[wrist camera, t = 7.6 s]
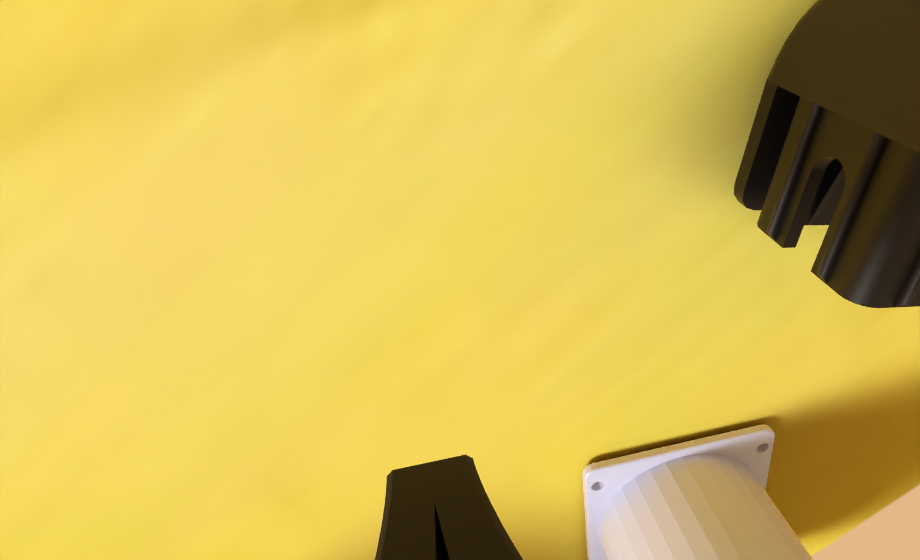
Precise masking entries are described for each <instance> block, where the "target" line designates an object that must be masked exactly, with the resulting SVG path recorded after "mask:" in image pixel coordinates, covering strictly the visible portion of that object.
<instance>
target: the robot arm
mask: <svg viewBox="0 0 920 560" xmlns="http://www.w3.org/2000/svg"><path fill="white" fill-rule="evenodd" d="M774 439H775V433H774V431H773V430H772V429H771V428H770V427H769V425H765V424H763V425H757V426H752V427H748V428H744V429H739V430H735V431H731V432H726V433H722V434H717V435H713V436H709V437H704V438H700V439H696V440H691V441H687V442H683V443H678V444H674V445H669V446H665V447H661V448H656V449H652V450H648V451H643V452H639V453H635V454H630V455H626V456H621V457H617V458H613V459H608V460H604V461H600V462H595V463H592V464H589V465H588V466H587V467H586V468H585V469H584V470H583V474H582V475H583V491H584V508H585V525H586V541H587V558H588V560H813V559H812V557H811V556H810V554H809V553H808V551H807V550H806V549H805V547H804V546H803V544H802V543H801V541H800V540H799V538H798V537H797V536H796V534H795V533H794V531H793V530H792V528H791V527H790V526H789V524H788V523H787V521H786V520H785V518H784V517H783V515H782V514H781V513H780V511H779V510H778V508H777V507H776V505H775V504H774V503H773V501H772V500H771V498H770V497H769V495H768V494H767V492H766V491H765V490H766V484H767V478H768V473H769V467H770V461H771V456H772V450H773V444H774ZM375 560H523V559H522V557H521V556H520V554H519V552H518V551H517V549H516V548H515V546H514V544H513V543H512V541H511V539H510V538H509V536H508V534H507V532H506V531H505V529H504V527H503V525H502V523H501V522H500V520H499V518H498V516H497V514H496V512H495V510H494V508H493V506H492V504H491V502H490V500H489V498H488V496H487V494H486V492H485V490H484V487H483V485H482V483H481V480H480V478H479V475H478V473H477V470H476V467H475V464H474V461H473V458H471V457H469V456H467V455H462V456H457V457H453V458H448V459H443V460H438V461H434V462H429V463H424V464H420V465H415V466H410V467H405V468H401V469H396V470H392V471H391V473H390V474H389V475H388V476H387V486H386V498H385V507H384V514H383V520H382V526H381V532H380V537H379V542H378V548H377V553H376V557H375Z"/></svg>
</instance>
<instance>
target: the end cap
mask: <svg viewBox="0 0 920 560" xmlns="http://www.w3.org/2000/svg"><path fill="white" fill-rule="evenodd" d="M734 195H735V197H736V198H737V200H738V201H739V202H740V203H741V204H742V205H744V206H745V207H746V208H749V209H752V210H762V211H761V214H760V217H759V220H758V223H757V225H758V227H759V228H760V229H761V230H762V231H763V232H764V233H766V234H767V235H768V236H769V237H770V238H772V239H773V240H774V241H775V242H776V243H778V244H779V245H780V246H781V247H782V248H789V247H796V245H797V242H798V239H799V237H800V234H801V231H802V229H803V226H804V225H829V228H828V230H827V232H826V235H825V237H824V240H823V242H822V245H821V247H820V250H819V252H818V255H817V257H816V260H815V262H814V265H813V267H812V270H811V272H812V273H814V274H815V275H816V276H817V277H818V278H820V279H821V280H822V281H823V282H824V283H826V284H827V285H828V286H829V287H830V288H832V289H833V290H834V291H835V292H836V293H838V294H839V295H840V296H842V297H843V298H845V299H847V300H849V301H851V302H853V303H856V304H859V305H862V306H866V307H871V308H890V307H913V306H920V0H818V1H817V2H816V3H815V4H814V5H813V6H812V7H811V8H810V9H809V10H808V12H807V13H806V14H805V15H804V16H803V17H802V18H801V19H800V20H799V22H798V23H797V25H796V26H795V28H794V29H793V31H792V32H791V33H790V35H789V36H788V38H787V39H786V41H785V43H784V45H783V47H782V49H781V51H780V53H779V55H778V57H777V59H776V61H775V64H774V66H773V68H772V70H771V72H770V74H769V76H768V78H767V81H766V84H765V87H764V90H763V94H762V97H761V100H760V103H759V107H758V110H757V113H756V116H755V120H754V123H753V126H752V129H751V133H750V136H749V139H748V142H747V146H746V149H745V152H744V155H743V159H742V162H741V165H740V168H739V172H738V175H737V178H736V181H735V185H734Z"/></svg>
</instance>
